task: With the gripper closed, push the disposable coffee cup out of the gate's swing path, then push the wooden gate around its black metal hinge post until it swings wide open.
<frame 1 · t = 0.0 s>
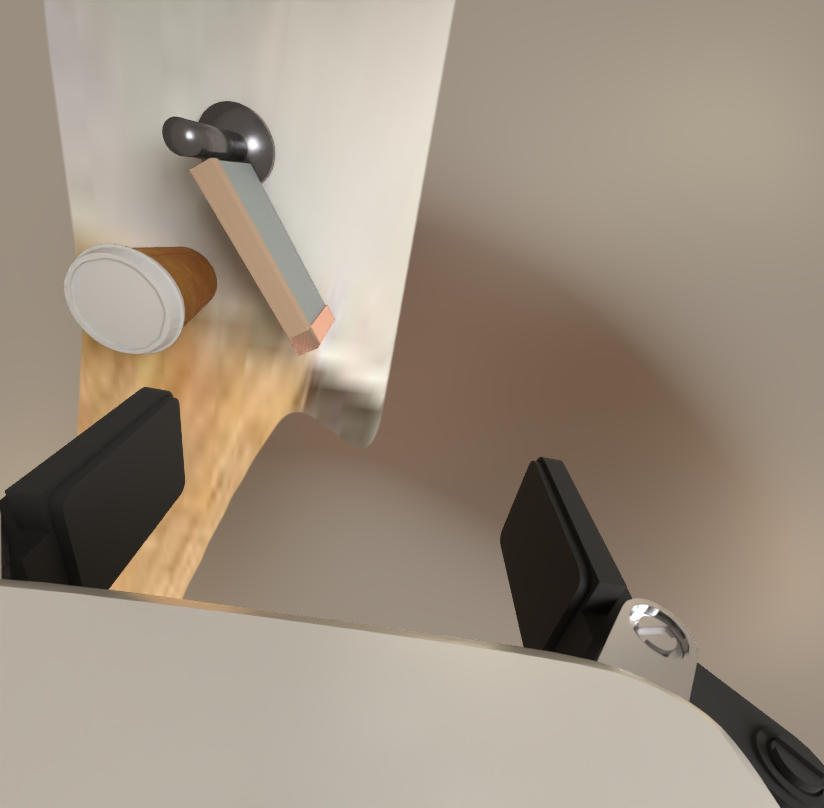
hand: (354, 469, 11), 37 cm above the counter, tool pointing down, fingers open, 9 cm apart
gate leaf: (275, 258, 39), point 6 cm above the counter, hinge at 0.0°
hinge post: (238, 147, 40), on the counter
disposable coffee cup: (188, 276, 46), on the counter
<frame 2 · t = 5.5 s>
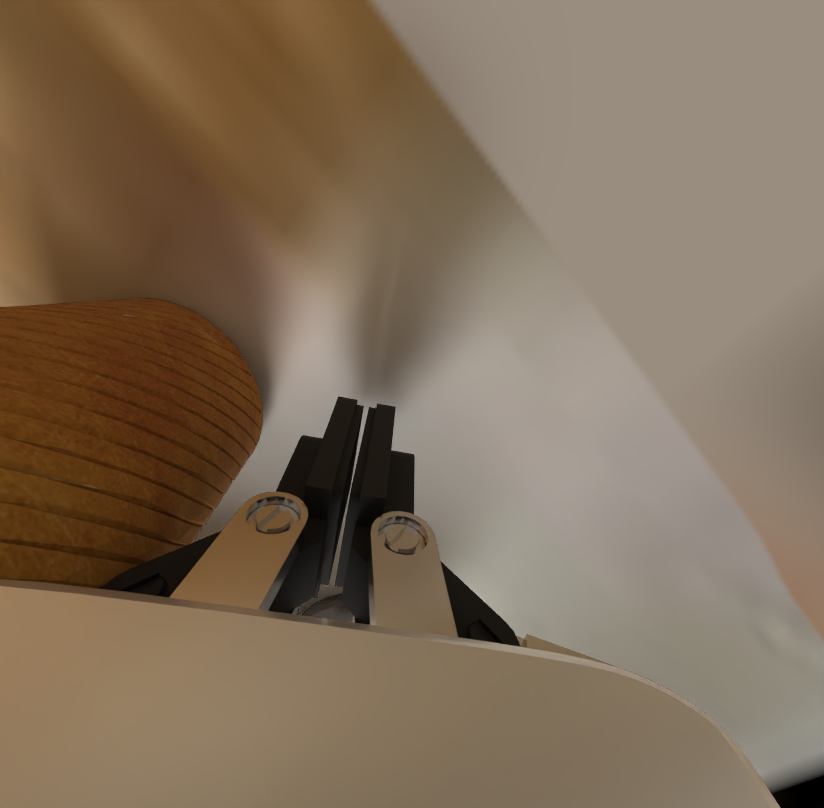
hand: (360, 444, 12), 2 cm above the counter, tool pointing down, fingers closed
hinge post: (367, 641, 20), on the counter
disposable coffee cup: (175, 394, 14), on the counter, touching gripper
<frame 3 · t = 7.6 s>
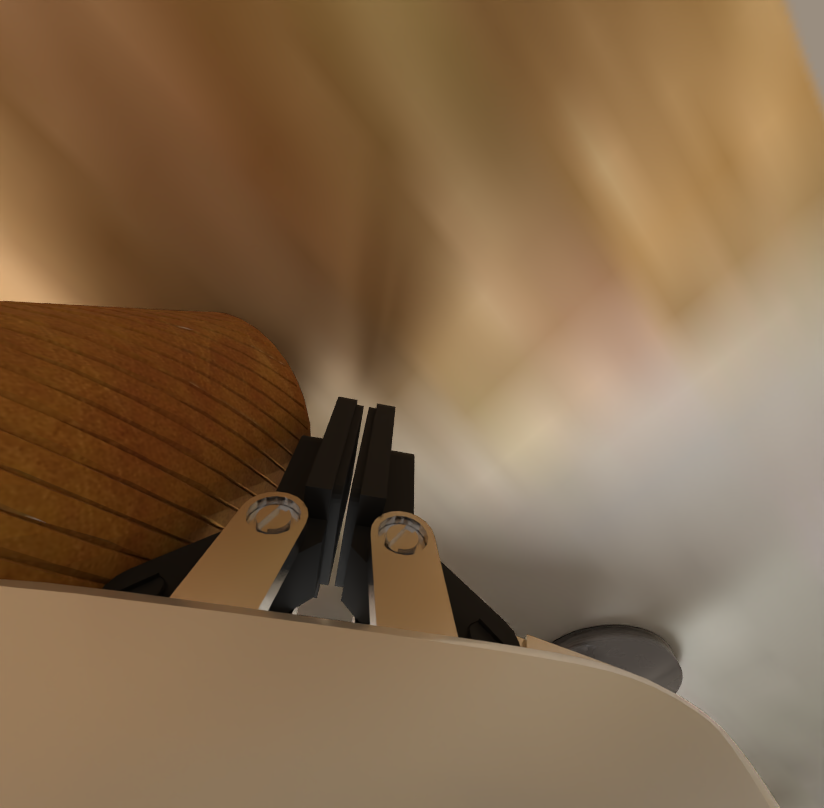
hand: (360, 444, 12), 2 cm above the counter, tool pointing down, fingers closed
hinge post: (601, 669, 21), on the counter
disposable coffee cup: (235, 412, 13), point 1 cm above the counter, touching gripper
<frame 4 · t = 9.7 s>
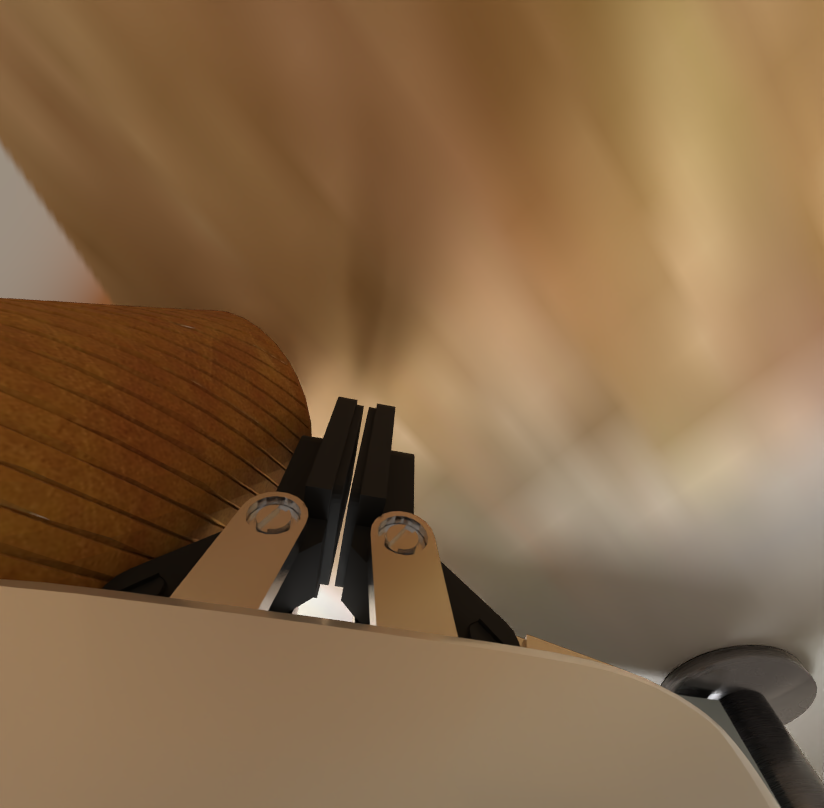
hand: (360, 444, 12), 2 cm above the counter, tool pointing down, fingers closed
hinge post: (729, 687, 22), on the counter
disposable coffee cup: (236, 411, 13), point 1 cm above the counter, touching gripper
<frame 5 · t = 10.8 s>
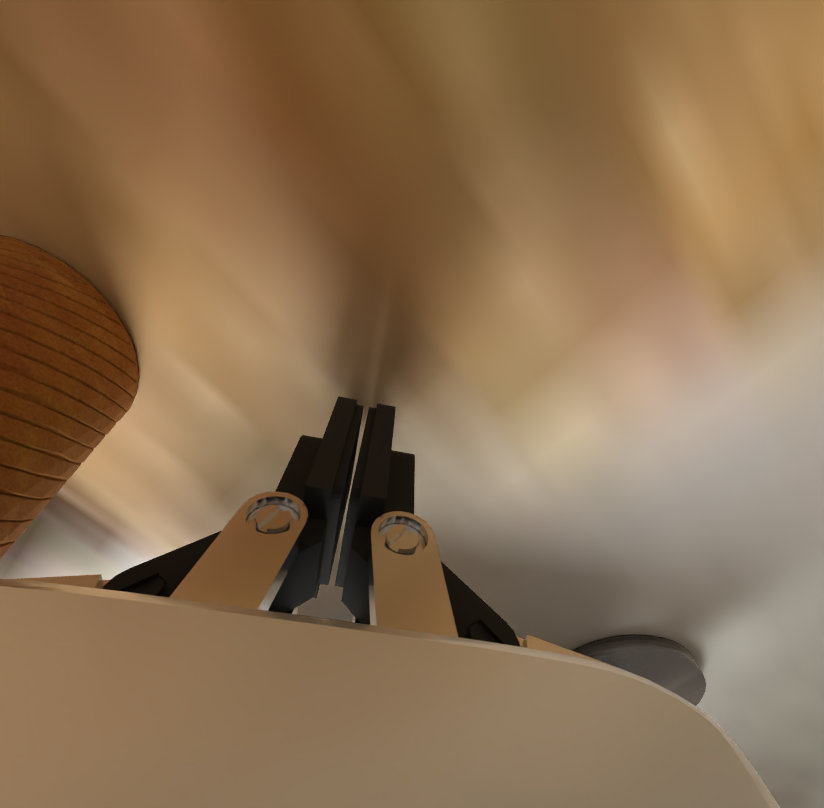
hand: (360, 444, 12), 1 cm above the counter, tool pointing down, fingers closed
hinge post: (619, 679, 20), on the counter
disposable coffee cup: (34, 343, 13), on the counter
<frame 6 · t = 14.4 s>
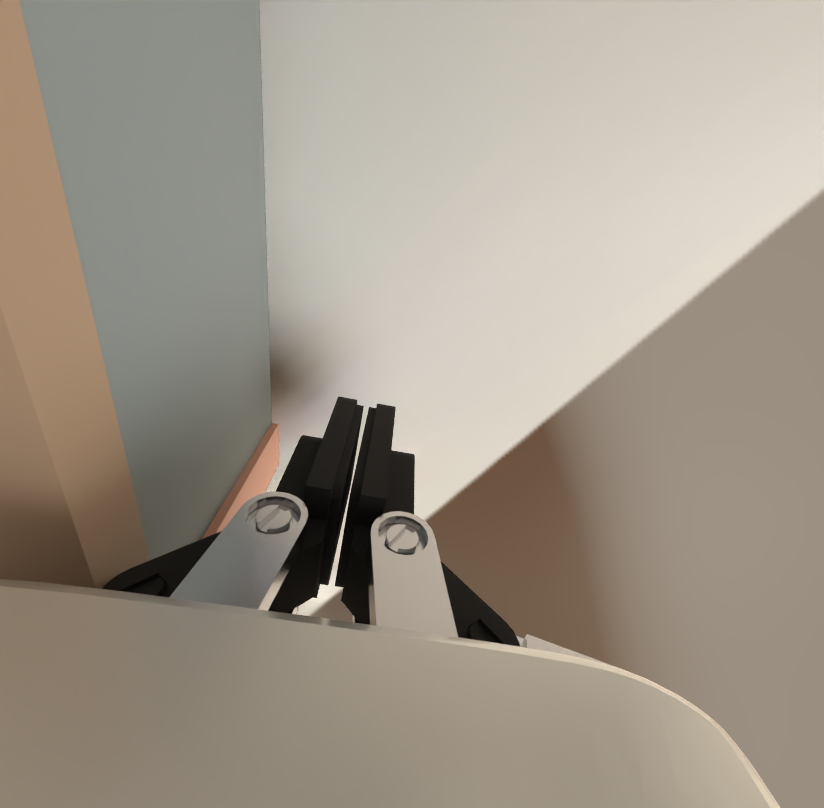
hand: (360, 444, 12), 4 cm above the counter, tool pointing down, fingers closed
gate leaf: (155, 262, 8), point 6 cm above the counter, hinge at 0.2°, touching gripper
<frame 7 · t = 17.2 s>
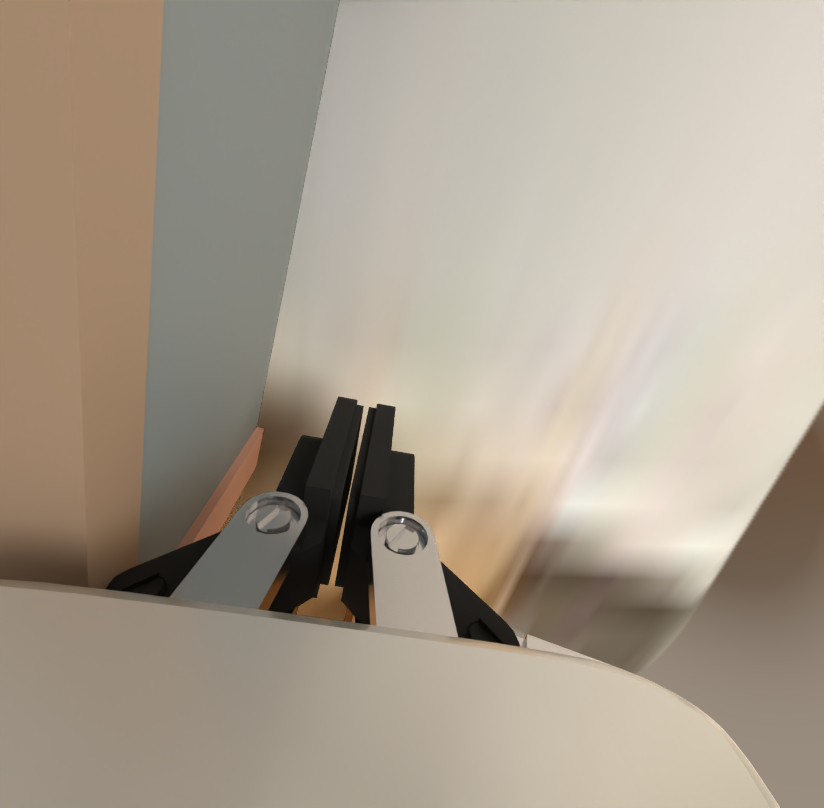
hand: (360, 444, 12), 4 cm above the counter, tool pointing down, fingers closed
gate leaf: (191, 266, 8), point 6 cm above the counter, hinge at 47.5°, touching gripper
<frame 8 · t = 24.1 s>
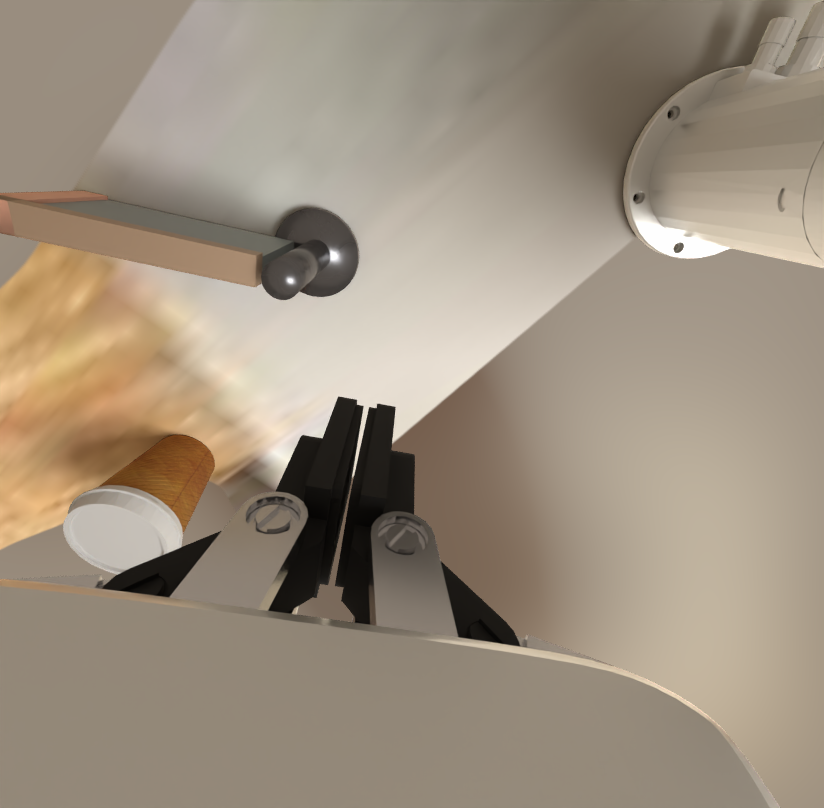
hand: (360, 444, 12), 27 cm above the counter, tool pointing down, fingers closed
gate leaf: (161, 234, 30), point 6 cm above the counter, hinge at 90.8°
hinge post: (318, 253, 35), on the counter
disposable coffee cup: (187, 457, 46), on the counter
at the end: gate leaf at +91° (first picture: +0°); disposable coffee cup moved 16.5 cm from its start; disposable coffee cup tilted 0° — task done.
